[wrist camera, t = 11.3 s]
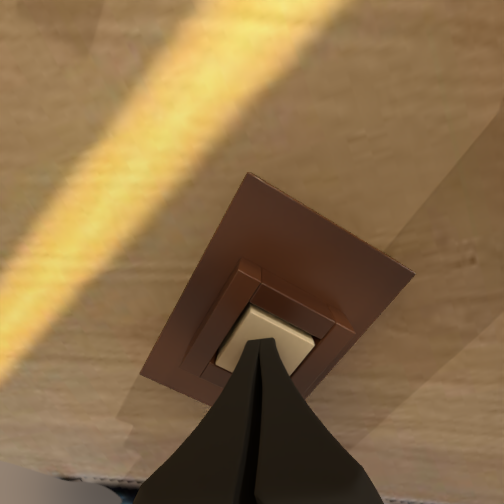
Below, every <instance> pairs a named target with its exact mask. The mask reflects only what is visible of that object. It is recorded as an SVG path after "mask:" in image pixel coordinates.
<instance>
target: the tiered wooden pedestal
mask: <svg viewBox="0 0 504 504" xmlns="http://www.w3.org/2000/svg"><path fill="white" fill-rule="evenodd" d="M415 274H416V273H415V272H413V271H412V270H410V269H409V268H407V267H406V266H404V265H403V264H401V263H399V262H398V261H396V260H395V259H393V258H391V257H390V256H388V255H387V254H385V253H383V252H382V251H380V250H378V249H377V248H375V247H373V246H372V245H370V244H368V243H367V242H365V241H363V240H362V239H360V238H358V237H357V236H355V235H353V234H352V233H350V232H348V231H347V230H345V229H343V228H342V227H340V226H339V225H337V224H335V223H334V222H332V221H330V220H329V219H327V218H325V217H324V216H322V215H320V214H319V213H317V212H315V211H314V210H312V209H310V208H309V207H307V206H305V205H304V204H302V203H300V202H299V201H297V200H296V199H294V198H292V197H291V196H289V195H287V194H286V193H284V192H282V191H281V190H279V189H277V188H276V187H274V186H272V185H271V184H269V183H267V182H266V181H264V180H262V179H261V178H259V177H257V176H256V175H254V174H253V173H250V172H248V173H247V174H246V176H245V177H244V179H243V181H242V183H241V185H240V187H239V189H238V190H237V192H236V194H235V196H234V198H233V200H232V202H231V204H230V205H229V207H228V209H227V211H226V213H225V215H224V217H223V218H222V220H221V222H220V224H219V226H218V228H217V230H216V232H215V233H214V235H213V237H212V239H211V241H210V243H209V245H208V246H207V248H206V250H205V252H204V254H203V256H202V258H201V260H200V261H199V263H198V265H197V267H196V269H195V271H194V273H193V274H192V276H191V278H190V280H189V282H188V284H187V286H186V288H185V289H184V291H183V293H182V295H181V297H180V299H179V301H178V302H177V304H176V306H175V308H174V310H173V312H172V314H171V315H170V317H169V319H168V321H167V323H166V325H165V327H164V329H163V330H162V332H161V334H160V336H159V338H158V340H157V342H156V343H155V345H154V347H153V349H152V351H151V353H150V355H149V357H148V358H147V360H146V362H145V364H144V366H143V368H142V370H141V371H140V375H142V376H144V377H147V378H149V379H151V380H153V381H156V382H158V383H160V384H162V385H164V386H167V387H169V388H171V389H173V390H176V391H178V392H180V393H182V394H185V395H187V396H189V397H191V398H194V399H196V400H198V401H200V402H202V403H205V404H207V405H209V406H211V407H212V406H213V404H214V403H215V401H216V400H217V398H218V397H219V395H220V394H221V392H222V390H223V389H224V387H225V385H226V384H227V382H228V380H229V378H230V377H231V375H232V372H230V371H228V370H226V369H224V368H222V367H220V366H218V365H216V359H217V355H218V351H219V347H220V345H221V343H222V342H223V340H224V339H225V337H226V335H227V334H228V332H229V331H230V329H231V328H232V326H233V325H234V323H235V322H236V320H237V319H238V317H239V315H240V314H241V312H242V311H243V309H244V308H245V306H246V305H247V303H248V302H249V301H250V303H252V304H254V305H256V306H258V307H260V308H262V309H264V310H266V311H268V312H270V313H271V314H273V315H275V316H277V317H279V318H281V319H283V320H285V321H287V322H289V323H291V324H292V325H294V326H296V327H298V328H300V329H302V330H304V331H306V332H308V333H310V334H312V338H313V341H314V344H315V346H314V347H313V348H312V349H311V351H310V352H309V353H308V354H307V356H306V357H305V358H304V359H303V360H302V362H301V363H300V364H299V365H298V367H297V368H296V369H295V370H294V371H293V373H292V374H291V375H290V378H291V380H292V381H293V383H294V385H295V386H296V388H297V390H298V391H299V393H300V394H301V396H302V397H303V399H304V400H305V399H306V398H307V397H308V395H309V394H310V393H311V392H312V391H313V390H314V389H315V388H316V386H317V385H318V384H319V383H320V382H321V381H322V380H323V378H324V377H325V376H326V375H327V374H328V373H329V372H330V371H331V369H332V368H333V367H334V366H335V365H336V364H337V363H338V361H339V360H340V359H341V358H342V357H343V356H344V355H345V354H346V352H347V351H348V350H349V349H350V348H351V347H352V346H353V345H354V343H355V342H356V341H357V340H358V339H359V338H360V337H361V335H362V334H363V333H364V332H365V331H366V330H367V329H368V328H369V326H370V325H371V324H372V323H373V322H374V321H375V320H376V319H377V317H378V316H379V315H380V314H381V313H382V312H383V311H384V309H385V308H386V307H387V306H388V305H389V304H390V303H391V302H392V300H393V299H394V298H395V297H396V296H397V295H398V294H399V292H400V291H401V290H402V289H403V288H404V287H405V286H406V285H407V283H408V282H409V281H410V280H411V279H412V278H413V277H414V276H415Z"/></svg>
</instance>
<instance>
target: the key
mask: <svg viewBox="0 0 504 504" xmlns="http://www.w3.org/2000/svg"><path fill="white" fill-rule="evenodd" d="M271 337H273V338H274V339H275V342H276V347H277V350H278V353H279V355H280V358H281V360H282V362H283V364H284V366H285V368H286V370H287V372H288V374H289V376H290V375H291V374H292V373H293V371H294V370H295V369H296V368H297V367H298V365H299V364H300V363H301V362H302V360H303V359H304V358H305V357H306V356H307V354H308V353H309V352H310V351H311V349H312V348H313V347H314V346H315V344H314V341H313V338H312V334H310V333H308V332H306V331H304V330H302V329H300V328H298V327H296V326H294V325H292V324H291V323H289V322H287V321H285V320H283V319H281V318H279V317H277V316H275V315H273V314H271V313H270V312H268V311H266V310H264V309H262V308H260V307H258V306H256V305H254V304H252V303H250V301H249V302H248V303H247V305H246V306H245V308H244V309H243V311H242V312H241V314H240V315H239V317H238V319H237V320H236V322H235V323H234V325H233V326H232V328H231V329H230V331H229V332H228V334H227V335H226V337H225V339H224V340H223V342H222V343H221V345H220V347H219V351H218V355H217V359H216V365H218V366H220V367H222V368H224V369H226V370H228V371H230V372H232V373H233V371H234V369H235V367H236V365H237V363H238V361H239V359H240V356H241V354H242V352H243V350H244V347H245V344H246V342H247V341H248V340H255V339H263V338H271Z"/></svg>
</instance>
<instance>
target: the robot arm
mask: <svg viewBox="0 0 504 504" xmlns="http://www.w3.org/2000/svg"><path fill="white" fill-rule="evenodd" d="M133 504H384V503H383V501H382V499H381V497H380V495H379V494H378V492H377V490H376V488H375V487H374V485H373V483H372V482H371V480H370V478H369V477H368V475H367V473H366V472H365V470H364V469H363V467H362V466H361V465H360V464H359V463H358V462H357V461H356V460H355V459H354V458H353V457H352V456H351V455H350V454H349V453H348V452H347V451H346V450H345V449H344V448H343V447H342V446H341V444H340V443H339V442H338V441H337V440H336V439H335V438H334V437H333V436H332V434H331V433H330V432H329V431H328V430H327V428H326V427H325V426H324V425H323V424H322V422H321V421H320V420H319V419H318V417H317V416H316V415H315V414H314V412H313V411H312V410H311V408H310V407H309V406H308V404H307V403H306V401H305V400H304V399H303V397H302V396H301V394H300V393H299V391H298V390H297V388H296V386H295V385H294V383H293V381H292V380H291V378H290V376H289V374H288V372H287V370H286V368H285V366H284V364H283V362H282V360H281V358H280V355H279V353H278V350H277V347H276V342H275V339H274V338H273V337H271V338H263V339H255V340H248V341H247V342H246V344H245V347H244V350H243V352H242V354H241V356H240V359H239V361H238V363H237V365H236V367H235V369H234V371H233V373H232V375H231V377H230V378H229V380H228V382H227V384H226V385H225V387H224V389H223V390H222V392H221V394H220V395H219V397H218V398H217V400H216V401H215V403H214V404H213V406H212V407H211V409H210V410H209V411H208V413H207V414H206V415H205V417H204V418H203V419H202V421H201V422H200V423H199V425H198V426H197V427H196V428H195V430H194V431H193V432H192V433H191V434H190V436H189V437H188V438H187V439H186V440H185V441H184V442H183V443H182V445H181V446H180V447H179V448H178V449H177V450H176V451H175V452H174V453H173V454H172V456H171V457H170V458H169V459H168V460H167V461H166V462H165V463H164V464H163V465H162V466H160V467H159V468H158V469H157V470H156V471H155V472H154V473H153V474H152V475H151V476H150V477H149V478H148V479H147V480H146V481H145V482H144V483H143V484H142V485H141V487H140V489H139V491H138V493H137V495H136V497H135V499H134V501H133Z"/></svg>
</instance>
